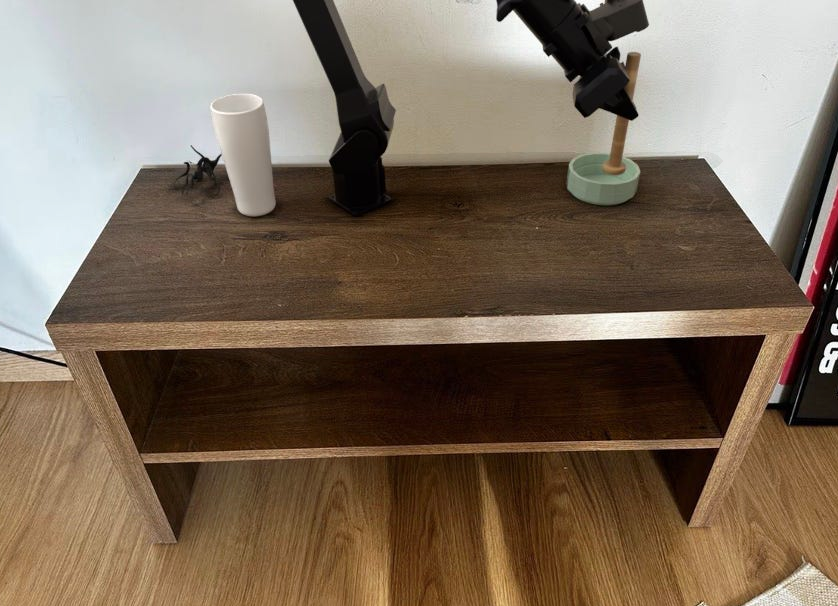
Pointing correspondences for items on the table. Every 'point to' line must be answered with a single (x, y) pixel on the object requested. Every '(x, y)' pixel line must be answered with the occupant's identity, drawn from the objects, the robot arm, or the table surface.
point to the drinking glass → (245, 151)
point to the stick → (622, 121)
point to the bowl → (601, 180)
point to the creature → (200, 171)
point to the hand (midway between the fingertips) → (634, 114)
